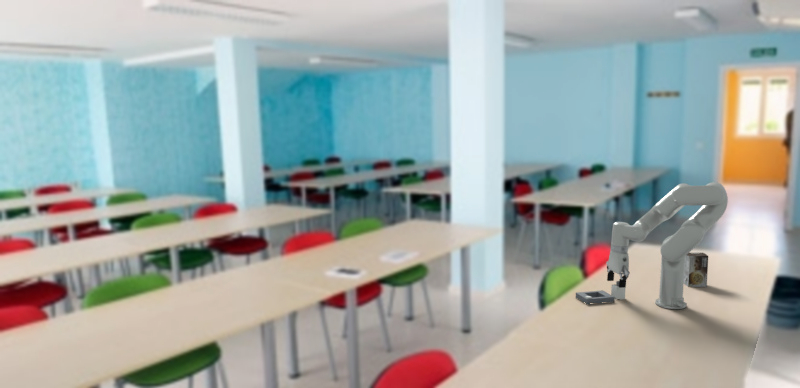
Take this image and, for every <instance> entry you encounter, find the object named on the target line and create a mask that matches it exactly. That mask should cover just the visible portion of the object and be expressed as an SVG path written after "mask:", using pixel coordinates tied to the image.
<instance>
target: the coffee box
mask: <svg viewBox="0 0 800 388" xmlns="http://www.w3.org/2000/svg"><path fill="white" fill-rule="evenodd" d="M708 268H709V255H708V254H707V253H705V252H689V253H688V254H687V255H686V256H685V269H684V286H686V287H688V288H691V287H692V288H698V287H699V288H707V286H708V270H709V269H708Z"/></svg>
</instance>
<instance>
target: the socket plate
mask: <svg viewBox="0 0 800 388" xmlns="http://www.w3.org/2000/svg"><path fill="white" fill-rule="evenodd" d="M577 298H578V299H577ZM575 299H577V300H579V299H580V300H581V301H580V300H579V301H580V302H582V301H583V302H585V303H586V304H585V303H584V304H585V305H587V304H588V305H591V304H590V303H599V304H603V303H602V302H610V303H615V300H616V299H615V297H614V296H612V295H611V293H609V292H607V291H606V290H605V291H604V290H603V289H602V290H591V291H589V290H588V291H578V292H575ZM583 302H582V303H583Z"/></svg>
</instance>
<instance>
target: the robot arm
mask: <svg viewBox="0 0 800 388" xmlns="http://www.w3.org/2000/svg"><path fill="white" fill-rule="evenodd" d="M728 199H729V198H728V194H727V190H726V189H725V187H724V185H722V183H719V182H715V181H714V182H712V181H711V182H709V183H707V184H705V185H704V184H703V185H690V184H688V183H679V184H678V185H676V186H675V187H674V188H673V189H671V191H670V190H669V192H668V193H667V194H666V195H664V197H662V198H660V200H659V201H657V202H656V203H655V205H653V206H652V207H651V209H649V210H648V211H647V212H646V213H645V214H644V215H642V216H641V217H640V218H639V219H638V220H637V221H636V222H635V223H634V224H633V225H630V224H629V223H628V222H624V221H615V222H614V223H613V224H612V231H611V242H610V251H609V256H608V260H607V261H606V263H605V264H606V269H607V270H606V272H607V274H606V275H607V277H606V281H607V282H613V281H615V274H617V275H619V280H618V281H619V287H620V288H624V287H626V286H627V280H628V278H629V275H630V270H629V269H630V260H629V259H630V257H629V245H630V244H629V242H630V241H633V242H637V243H640V242H643V241H644V240H646V238H647V236H648V235H649V234H650V233H651V232H652V231H653V230H654V229H656V227H659V225H661V224H662V223H664V222H665V221H668V220H669V219H671V218H673V216H674V215H676V214H677V213H678V212H679V211H680V210H682V209H683V208H684V207H685V206H692V207H693V206H694V207H695V206H701V207H700V208H699V209H698V210H697V211H696V212H695V213H694V214H692V216H690V217H689V218H688V219H686V220H685V221H684V222H683V223H682V224H681V226H680V228H679V229H678V230H677V231H675V233H674V234H672V235H669V236H667V237H666V238H664V240H662V243H661V245H660V255H661V261H660V275H659V276H660V277H659V279H660V280H659V295H658V296H659V297H658V298H657V299H655V301H654V303H655V305H656V306H658V307H661V308H664V309H670V310H683V309H685V308H686V307H687V306H688V303H687V302H685V298H684V286H685V284H684V269H685V256H686V255H687V254H688V253H691V251H693V249H695V248H696V247H697V246H699V244H700V243H701V242H702V241H703V240H704V237H705V235H706V233H707V232H708V231H709V230H710V229H711V228H712V227H713V226H714V225H715V224H716V223H717V222H718V221H719V220H720V219H721V218H722V217H723V215H724V214H725V212H726V210H727V207H728V203H729V200H728Z"/></svg>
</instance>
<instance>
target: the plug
mask: <svg viewBox="0 0 800 388" xmlns="http://www.w3.org/2000/svg"><path fill="white" fill-rule="evenodd" d="M610 295H612V296H614V297H615V300H616V299H620V300H626V287H624V288H620V287H619V280H616V281H615V284H611V293H610Z"/></svg>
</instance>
